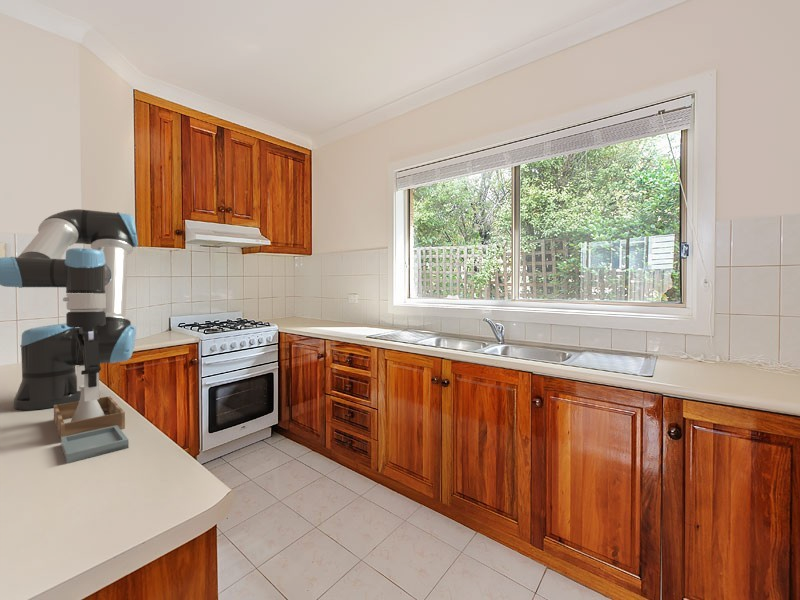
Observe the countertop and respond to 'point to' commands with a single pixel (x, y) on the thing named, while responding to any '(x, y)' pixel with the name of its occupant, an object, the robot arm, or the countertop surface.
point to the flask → (87, 408)
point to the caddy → (92, 423)
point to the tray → (93, 443)
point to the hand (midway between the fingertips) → (87, 395)
